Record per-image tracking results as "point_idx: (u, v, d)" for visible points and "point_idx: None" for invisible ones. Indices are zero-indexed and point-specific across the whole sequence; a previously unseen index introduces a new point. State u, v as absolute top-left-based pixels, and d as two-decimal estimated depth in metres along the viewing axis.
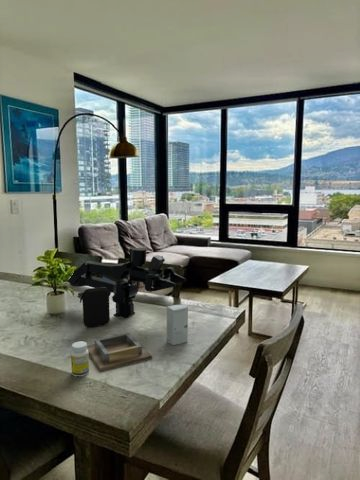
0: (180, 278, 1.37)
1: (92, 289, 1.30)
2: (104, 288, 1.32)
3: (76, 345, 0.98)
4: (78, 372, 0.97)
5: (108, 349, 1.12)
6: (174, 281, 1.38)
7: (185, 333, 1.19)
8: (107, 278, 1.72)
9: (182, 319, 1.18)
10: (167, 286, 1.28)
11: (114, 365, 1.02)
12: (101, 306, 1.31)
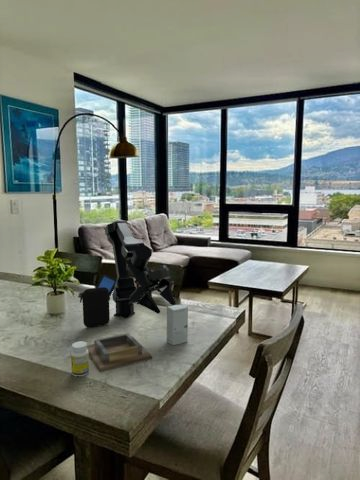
0: (171, 299, 1.25)
1: (92, 289, 1.30)
2: (104, 288, 1.32)
3: (76, 345, 0.98)
4: (78, 372, 0.97)
5: (108, 349, 1.12)
6: (164, 296, 1.27)
7: (185, 333, 1.19)
8: (108, 278, 1.72)
9: (182, 319, 1.18)
10: (151, 308, 1.17)
11: (114, 365, 1.02)
12: (101, 306, 1.31)
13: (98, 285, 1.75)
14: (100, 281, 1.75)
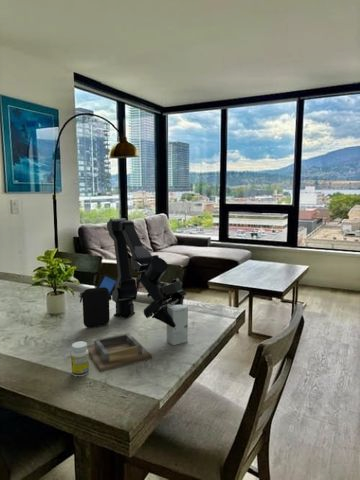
0: None
1: (92, 289, 1.30)
2: (104, 288, 1.32)
3: (76, 345, 0.98)
4: (78, 372, 0.97)
5: (108, 349, 1.12)
6: None
7: (185, 333, 1.19)
8: (109, 278, 1.72)
9: (182, 319, 1.18)
10: (167, 322, 1.16)
11: (114, 365, 1.02)
12: (101, 306, 1.31)
13: (99, 285, 1.75)
14: (101, 281, 1.76)
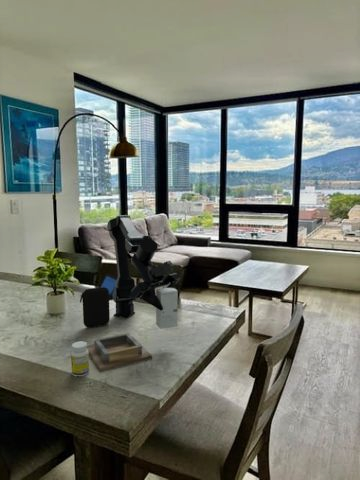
0: None
1: (92, 289, 1.30)
2: (104, 288, 1.32)
3: (76, 345, 0.98)
4: (78, 372, 0.97)
5: (108, 349, 1.12)
6: None
7: (174, 317, 1.15)
8: (111, 277, 1.73)
9: (171, 303, 1.14)
10: (154, 305, 1.13)
11: (114, 365, 1.02)
12: (101, 306, 1.31)
13: (100, 285, 1.76)
14: (103, 281, 1.76)
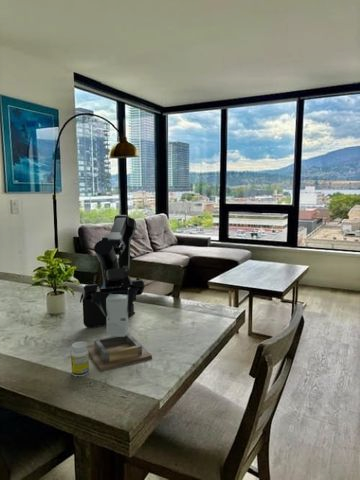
0: (128, 306, 1.10)
1: None
2: None
3: (76, 345, 0.98)
4: (78, 372, 0.97)
5: (108, 349, 1.12)
6: None
7: (122, 327, 1.08)
8: None
9: (118, 311, 1.07)
10: (101, 309, 1.08)
11: (114, 365, 1.02)
12: None
13: (101, 284, 1.76)
14: None
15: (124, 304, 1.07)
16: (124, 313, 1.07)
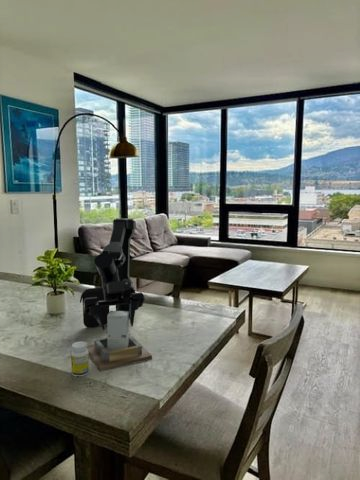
0: (130, 318, 1.11)
1: (92, 289, 1.30)
2: None
3: (76, 345, 0.98)
4: (78, 372, 0.97)
5: None
6: (129, 313, 1.14)
7: (123, 343, 1.09)
8: None
9: (119, 327, 1.08)
10: (99, 323, 1.09)
11: (114, 365, 1.02)
12: None
13: None
14: None
15: (125, 321, 1.08)
16: (125, 330, 1.08)
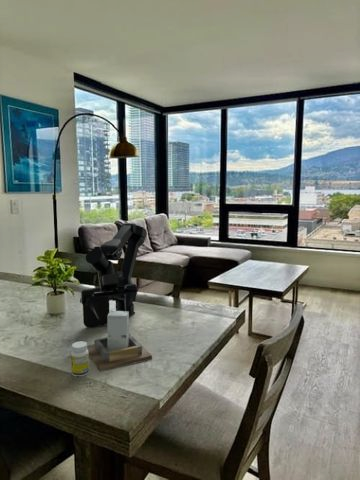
0: (125, 308, 1.20)
1: None
2: None
3: (76, 345, 0.98)
4: (78, 372, 0.97)
5: None
6: None
7: (123, 343, 1.09)
8: None
9: (119, 327, 1.08)
10: (95, 312, 1.17)
11: (114, 365, 1.02)
12: (101, 306, 1.31)
13: None
14: None
15: (125, 321, 1.08)
16: (125, 330, 1.08)
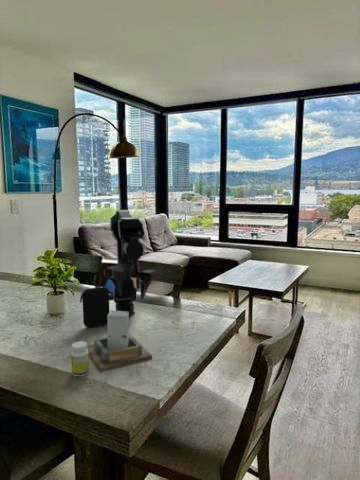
0: None
1: (92, 289, 1.30)
2: (104, 288, 1.32)
3: (76, 345, 0.98)
4: (78, 372, 0.97)
5: None
6: None
7: (123, 343, 1.09)
8: None
9: (119, 327, 1.08)
10: None
11: (114, 365, 1.02)
12: (101, 306, 1.31)
13: (105, 284, 1.77)
14: (107, 280, 1.78)
15: (125, 321, 1.08)
16: (125, 330, 1.08)
